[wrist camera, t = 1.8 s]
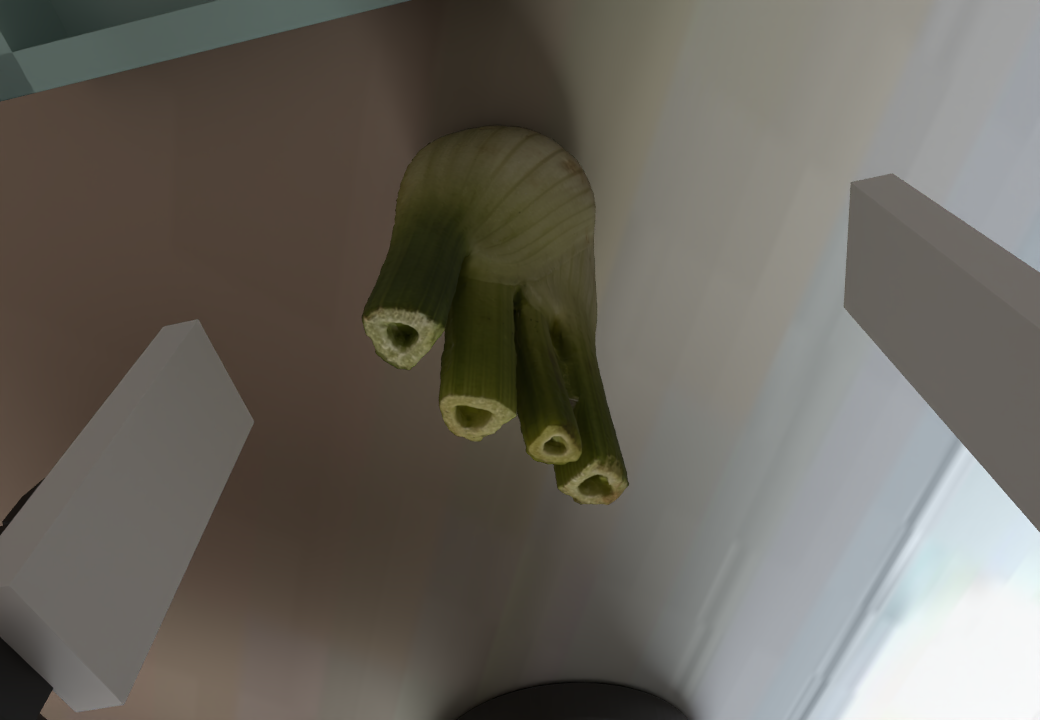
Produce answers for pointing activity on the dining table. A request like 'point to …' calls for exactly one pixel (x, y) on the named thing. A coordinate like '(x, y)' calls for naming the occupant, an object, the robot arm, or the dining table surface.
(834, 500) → the dining table surface
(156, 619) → the robot arm
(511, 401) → the fennel bulb
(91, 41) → the tray
